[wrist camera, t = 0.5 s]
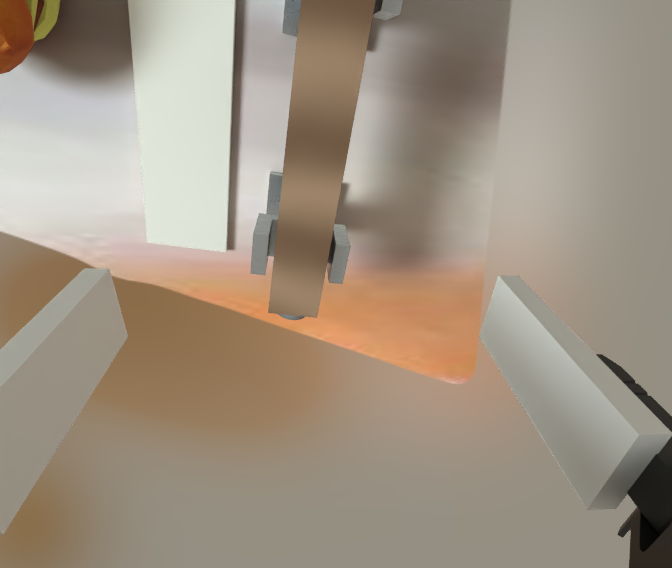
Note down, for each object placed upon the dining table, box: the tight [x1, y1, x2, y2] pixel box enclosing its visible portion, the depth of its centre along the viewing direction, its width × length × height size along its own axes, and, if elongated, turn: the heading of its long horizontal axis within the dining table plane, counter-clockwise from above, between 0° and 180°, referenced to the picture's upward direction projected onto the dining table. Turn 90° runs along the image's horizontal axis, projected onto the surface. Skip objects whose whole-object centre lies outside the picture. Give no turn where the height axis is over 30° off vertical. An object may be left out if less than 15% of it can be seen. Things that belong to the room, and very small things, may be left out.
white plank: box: [128, 0, 236, 252], centre depth 29 cm, size 26×7×1 cm, turn 170°
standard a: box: [251, 172, 350, 284], centre depth 30 cm, size 6×6×10 cm
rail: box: [268, 0, 376, 320], centre depth 23 cm, size 26×4×4 cm, turn 170°
